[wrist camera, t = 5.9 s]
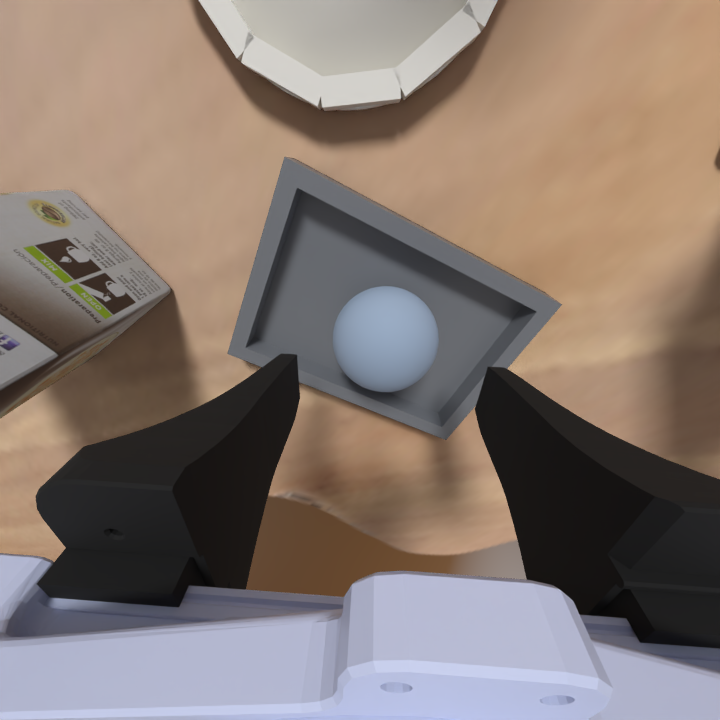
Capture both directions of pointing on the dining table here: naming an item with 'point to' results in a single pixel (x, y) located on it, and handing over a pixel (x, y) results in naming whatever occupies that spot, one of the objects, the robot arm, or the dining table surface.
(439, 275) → the tray
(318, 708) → the robot arm
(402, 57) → the saucer
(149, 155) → the dining table surface
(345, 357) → the ball
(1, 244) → the coffee box
